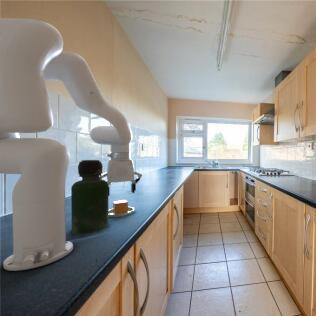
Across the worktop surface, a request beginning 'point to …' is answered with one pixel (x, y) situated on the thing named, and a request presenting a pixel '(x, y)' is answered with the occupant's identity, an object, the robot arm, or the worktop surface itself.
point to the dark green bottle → (89, 199)
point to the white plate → (111, 214)
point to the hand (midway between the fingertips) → (121, 193)
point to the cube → (120, 207)
